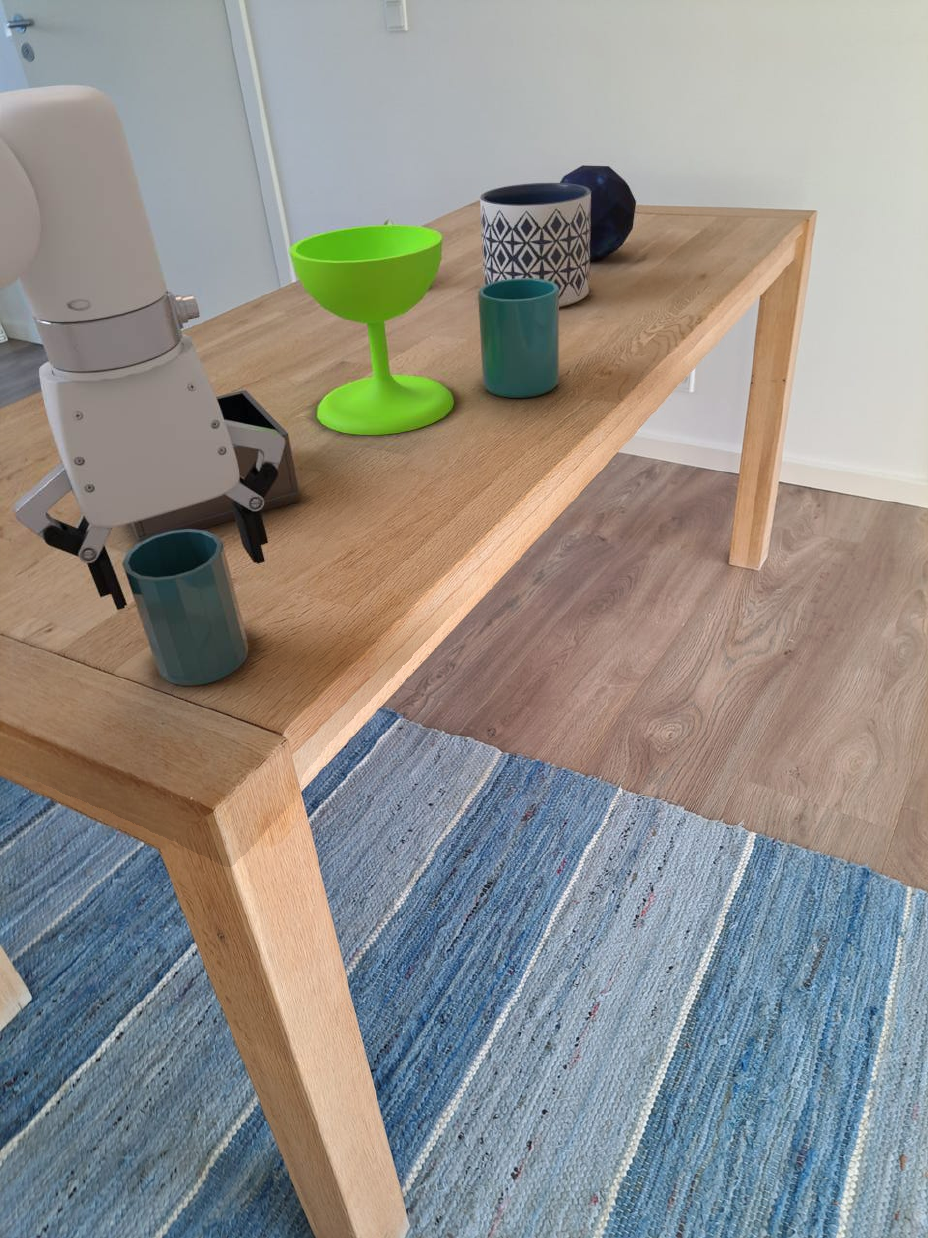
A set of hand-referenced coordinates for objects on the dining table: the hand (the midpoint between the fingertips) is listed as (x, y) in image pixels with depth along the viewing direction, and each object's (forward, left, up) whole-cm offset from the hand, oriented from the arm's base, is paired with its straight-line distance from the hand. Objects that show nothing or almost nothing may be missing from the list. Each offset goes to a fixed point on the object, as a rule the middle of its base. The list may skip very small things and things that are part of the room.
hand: (188, 576), depth 62 cm
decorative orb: (+86, +75, -7) cm, 115 cm away
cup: (+47, +33, -7) cm, 58 cm away
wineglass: (+30, +36, -7) cm, 48 cm away
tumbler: (-1, 0, -7) cm, 7 cm away
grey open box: (+6, +26, -7) cm, 27 cm away
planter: (+67, +62, -7) cm, 92 cm away
